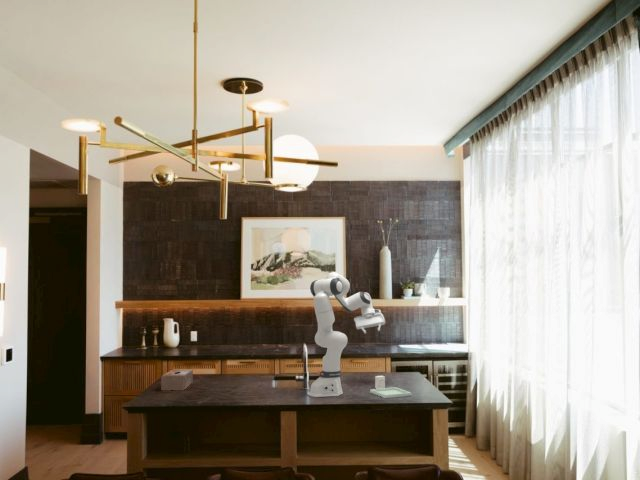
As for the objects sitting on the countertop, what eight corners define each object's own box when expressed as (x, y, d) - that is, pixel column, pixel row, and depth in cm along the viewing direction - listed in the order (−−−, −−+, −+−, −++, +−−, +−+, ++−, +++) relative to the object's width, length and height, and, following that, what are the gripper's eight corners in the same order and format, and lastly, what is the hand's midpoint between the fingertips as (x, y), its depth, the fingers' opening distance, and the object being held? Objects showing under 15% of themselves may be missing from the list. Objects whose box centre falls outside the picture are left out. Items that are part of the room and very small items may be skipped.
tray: (385, 398, 354) (385, 395, 355) (370, 392, 373) (370, 389, 373) (411, 396, 361) (411, 392, 361) (395, 390, 380) (395, 387, 380)
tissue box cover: (183, 391, 384) (183, 375, 385) (161, 391, 385) (161, 376, 385) (192, 384, 410) (192, 369, 411) (171, 384, 410) (172, 369, 411)
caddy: (379, 389, 382) (379, 377, 382) (375, 388, 387) (375, 376, 387) (386, 389, 384) (385, 376, 384) (382, 387, 389) (381, 375, 389)
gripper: (353, 314, 405) (356, 332, 397) (382, 309, 405) (386, 326, 397) (353, 319, 410) (357, 336, 402) (382, 314, 410) (387, 331, 402)
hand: (372, 331), depth 399 cm, fingers open, 8 cm apart
